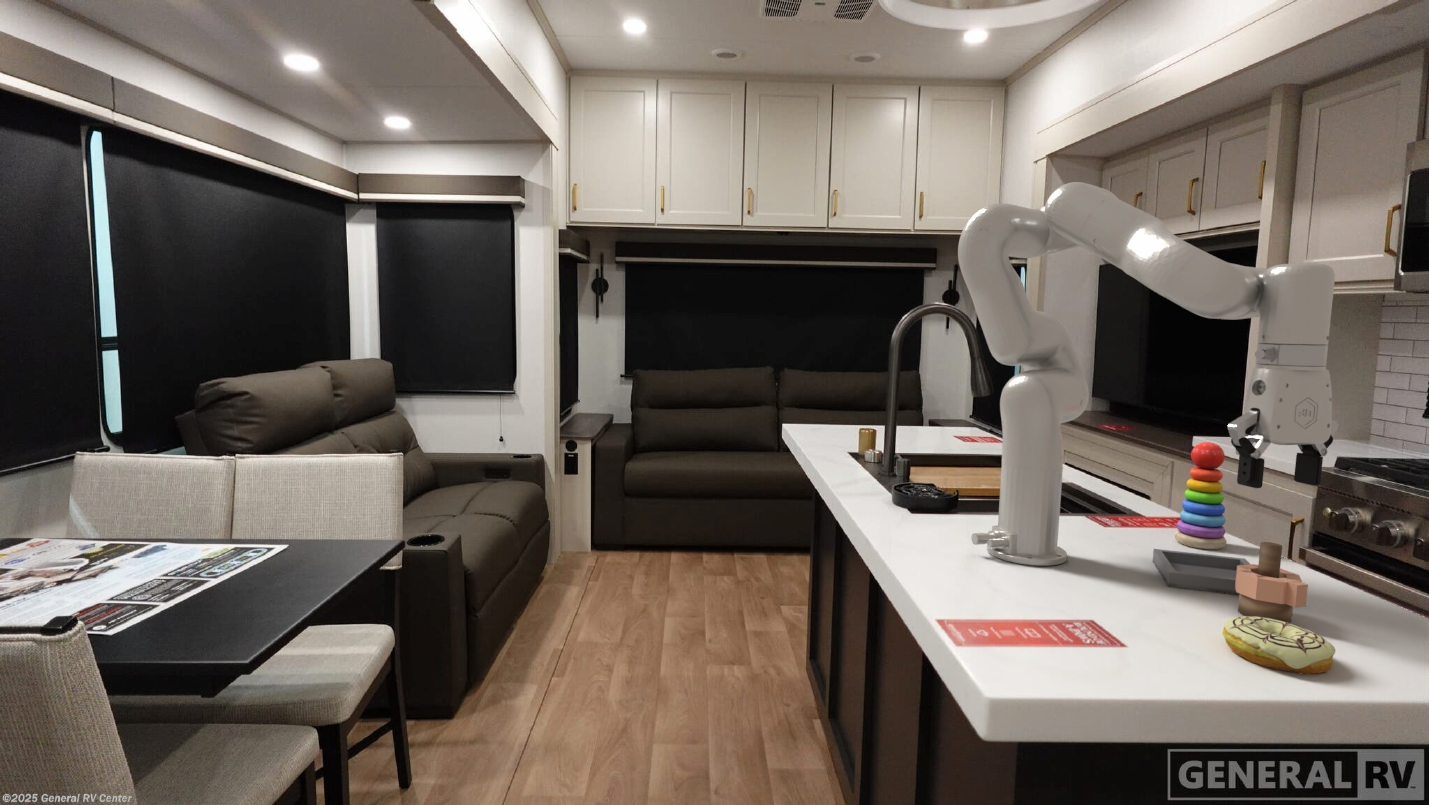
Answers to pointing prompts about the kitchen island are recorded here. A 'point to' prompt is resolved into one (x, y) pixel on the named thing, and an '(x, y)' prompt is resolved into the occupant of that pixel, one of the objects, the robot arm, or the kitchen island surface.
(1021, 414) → the robot arm
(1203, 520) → the stacking toy
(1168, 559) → the tray
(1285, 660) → the decorated donut
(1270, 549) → the rod
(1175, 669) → the kitchen island surface
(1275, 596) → the ring
